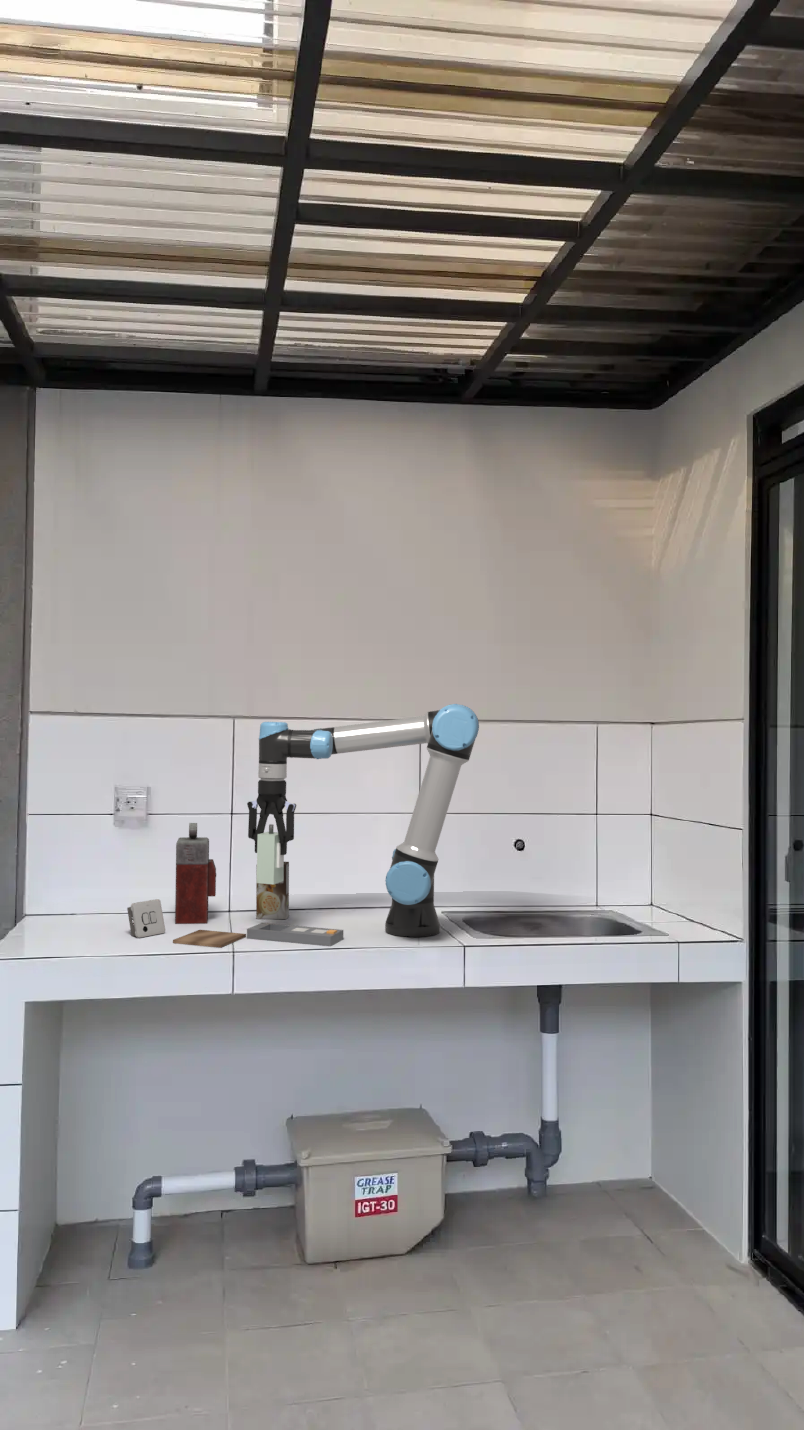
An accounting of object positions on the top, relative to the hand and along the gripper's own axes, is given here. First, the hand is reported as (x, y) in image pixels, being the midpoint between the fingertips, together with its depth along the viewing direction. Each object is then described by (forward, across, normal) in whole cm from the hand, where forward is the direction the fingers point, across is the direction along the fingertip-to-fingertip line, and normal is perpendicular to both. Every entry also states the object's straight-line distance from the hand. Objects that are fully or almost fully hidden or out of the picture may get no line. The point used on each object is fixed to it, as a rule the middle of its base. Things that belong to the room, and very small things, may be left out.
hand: (270, 866), depth 292 cm
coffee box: (+19, -11, +25) cm, 33 cm away
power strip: (+19, +7, +1) cm, 20 cm away
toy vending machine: (+19, -29, +12) cm, 36 cm away
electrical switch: (+20, -32, -10) cm, 39 cm away
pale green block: (+4, 0, 0) cm, 4 cm away
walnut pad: (+19, -12, -9) cm, 25 cm away
